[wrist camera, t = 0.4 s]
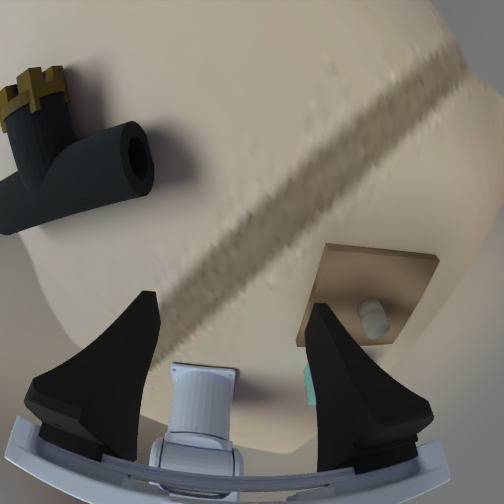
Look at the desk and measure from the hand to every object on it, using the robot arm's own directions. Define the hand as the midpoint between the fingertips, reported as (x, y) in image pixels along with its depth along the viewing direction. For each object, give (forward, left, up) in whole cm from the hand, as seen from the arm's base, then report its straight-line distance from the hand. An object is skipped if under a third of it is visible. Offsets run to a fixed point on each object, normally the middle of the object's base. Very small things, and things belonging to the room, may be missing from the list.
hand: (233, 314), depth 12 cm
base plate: (-7, -13, -10) cm, 18 cm away
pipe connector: (+6, +15, -10) cm, 19 cm away
